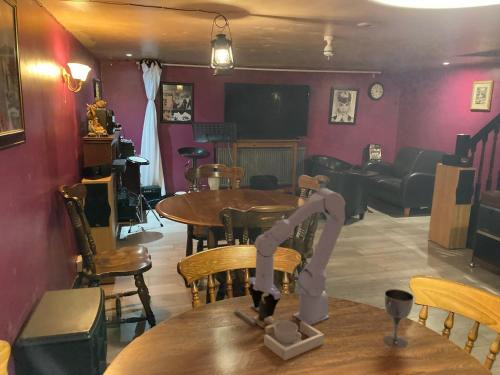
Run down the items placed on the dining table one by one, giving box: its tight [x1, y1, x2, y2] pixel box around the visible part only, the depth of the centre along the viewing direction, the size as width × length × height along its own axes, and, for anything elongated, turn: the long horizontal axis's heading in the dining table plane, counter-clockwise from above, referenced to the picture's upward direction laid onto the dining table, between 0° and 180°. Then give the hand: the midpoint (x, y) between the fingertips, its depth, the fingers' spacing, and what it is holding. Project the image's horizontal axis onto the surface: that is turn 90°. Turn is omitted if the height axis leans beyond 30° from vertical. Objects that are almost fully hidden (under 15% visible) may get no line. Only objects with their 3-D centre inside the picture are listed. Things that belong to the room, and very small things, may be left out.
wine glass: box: [382, 288, 414, 348], centre depth 121 cm, size 8×8×15 cm
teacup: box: [269, 320, 303, 348], centre depth 121 cm, size 10×10×5 cm
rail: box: [234, 303, 274, 326], centre depth 136 cm, size 8×11×1 cm
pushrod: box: [251, 299, 293, 335], centre depth 129 cm, size 10×12×7 cm
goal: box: [263, 320, 325, 361], centre depth 119 cm, size 15×10×3 cm, turn 125°
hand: (263, 311), depth 131 cm, fingers open, 6 cm apart
